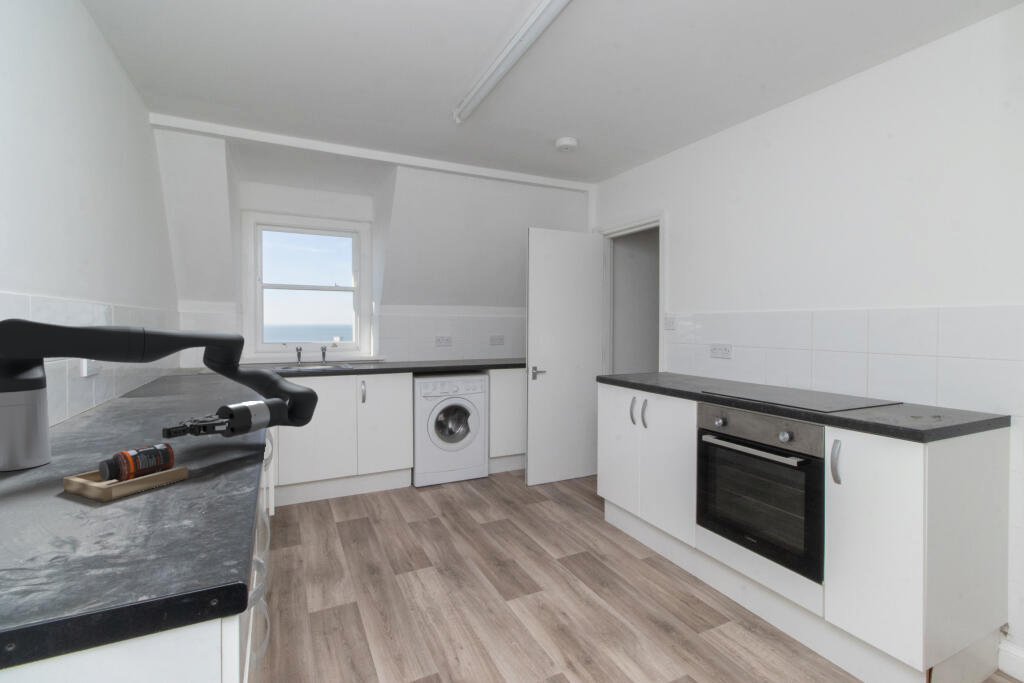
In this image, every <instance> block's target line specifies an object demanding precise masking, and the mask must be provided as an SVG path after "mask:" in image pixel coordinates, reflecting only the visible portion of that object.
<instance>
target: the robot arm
mask: <svg viewBox="0 0 1024 683" xmlns="http://www.w3.org/2000/svg"><path fill="white" fill-rule="evenodd" d="M244 347H245V338H244V336H242V334H240V333H237V332H234V331H229V330H220V329H219V330H217V329H215V330H212V329H211V330H209V329H207V330H206V329H205V330H204V329H203V330H202V329H201V330H198V329H197V330H189V329H188V330H187V329H186V330H184V329H183V330H181V329H165V328H153V327H152V328H151V327H144V326H131V325H130V326H127V325H93V326H92V325H89V326H74V325H73V326H71V325H62V324H54V323H48V322H40V321H33V320H28V319H25V318H7V319H3V320H0V472H9V471H17V470H23V469H24V470H26V469H30V468H35V467H39V466H43V465H45V464H48V463H51V462H52V449H51V434H50V420H49V419H50V418H49V417H50V416H49V415H50V414H49V403H48V391H47V390H48V388H47V386H48V385H47V376H46V370H45V360H44V359H51V358H52V359H55V358H57V359H58V358H68V359H69V358H73V359H82V360H83V359H84V360H93V361H98V362H99V361H100V362H108V363H109V362H110V363H120V364H121V363H123V364H124V363H125V364H129V363H130V364H143V363H144V364H146V363H147V364H149V363H152V362H156V361H158V360H162V359H163V358H166V357H168V356H171V355H173V354H175V353H178V352H180V351H183V350H187V349H193V348H204V352H203V355H202V362H203V364H204V366H205V367H206V368H208V369H209V370H211V371H213V372H215V374H216V373H217V374H218V375H221V376H223V377H225V378H227V379H229V380H231V381H233V382H236V383H238V384H240V385H243V386H245V387H247V388H249V389H251V390H252V391H254V392H255V393H257V394H258V395H260V396H262V397H263V398H264V399H261V400H248V401H242V402H237V403H231V404H224V405H222V406H220V407H219V408H218V409H217V410H216V413H215V414H214V415H213V414H206V415H203V416H202V417H193V416H192V417H190V418H187V419H184V420H182V421H179V422H178V424H177V425H171V426H168V427H163V428H162V430H161V431H162V434H161V435H162V438H163V439H166V440H167V439H168V440H170V439H174V438H180V437H184V436H186V437H191V436H194V437H199V436H201V437H202V436H209V435H218V434H219V435H220V436H222V437H223V438H229V439H230V438H234V437H238V436H241V435H247V434H250V433H255V432H258V431H260V430H264V429H268V428H273V427H277V426H278V427H280V426H281V427H294V428H302V427H304V426H307V425H308V424H310V423H311V421H312V418H313V416H314V413H315V410H316V407H317V404H318V403H319V396H318V394H317V391H315V390H314V389H312V388H310V387H309V386H303V385H299V384H298V383H297V384H296V383H294V382H291V381H288V380H287V379H285V378H284V377H282V376H281V375H280V374H278V373H277V372H274V371H273V370H270V369H266V368H255V369H246V368H244V367H242V365H240V361H241V359H242V353H243V350H244ZM286 403H287V404H286Z"/></svg>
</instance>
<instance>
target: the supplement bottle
mask: <svg viewBox="0 0 1024 683" xmlns="http://www.w3.org/2000/svg"><path fill="white" fill-rule="evenodd" d="M174 452H175V451H174V450H173V448H172V446H171V445H170V444H169V443H167V442H161V443H156V444H150V445H146V446H141V447H136V448H131V449H127V450H123V451H119V452H116V453H115V454H114V455H113V456H112V457H111V458H107V459H104V460H101V461H100V462H99V464H98V470H99V474H100V477H101V478H102V480H103V481H110V480H113V479H115V480H117V481H119V482H123V481H127V480H131V479H135V478H139V477H143V476H147V475H150V474H154V473H158V472H162V471H166V470H170V469H173V467H174V464H175V460H176V458H175V453H174Z"/></svg>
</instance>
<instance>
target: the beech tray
mask: <svg viewBox="0 0 1024 683" xmlns="http://www.w3.org/2000/svg"><path fill="white" fill-rule="evenodd" d="M188 474H189V472H188V466H185V465H181V466H178V467H175V468H172V469H170V470H166V471H162V472H158V473H154V474H150V475H147V476H143V477H139V478H135V479H131V480H127V481H123V482H119V481H117V480H115V479H113V480H110V481H103V480H102V478H101V477H100V474H99V469H96V470H92V471H87V472H82V473H79V474H74V475H70V476H65V477H63V478H62V481H63V482H62V483H63V484H62V485H63V491H64V492H67V493H70V494H74V495H76V494H77V496H80V497H83V496H84V498H87V497H88V498H87V499H90V498H92V499H91V500H94V499H96V500H95V501H97V500H99V502H101V501H102V503H108V502H111V501H110V500H112V501H114V500H113V499H115V500H118V499H117V498H119V499H121V498H120V497H122V498H124V497H123V496H126V495H129V496H131V495H130V494H133V493H136V492H139V491H143V490H147V489H150V490H152V489H151V488H154V487H157V486H161V485H164V484H168V483H171V484H173V483H172V482H175V481H179V482H181V481H180V480H182V481H184V480H183V479H186V480H188V479H189V475H188ZM187 478H188V479H187ZM175 483H176V482H175ZM168 485H169V484H168ZM164 486H165V485H164ZM161 487H162V486H161ZM157 488H158V487H157ZM154 489H155V488H154ZM147 491H148V490H147ZM143 492H144V491H143ZM136 494H137V493H136ZM133 495H134V494H133ZM126 497H127V496H126ZM107 501H108V502H107Z"/></svg>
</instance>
